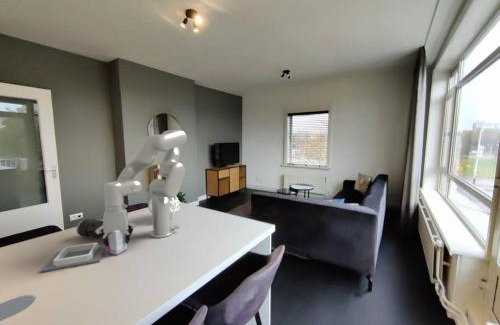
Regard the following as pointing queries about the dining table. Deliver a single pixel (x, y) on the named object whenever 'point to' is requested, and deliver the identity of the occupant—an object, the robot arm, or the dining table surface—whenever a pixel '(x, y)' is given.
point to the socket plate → (75, 257)
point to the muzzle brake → (91, 228)
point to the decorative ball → (174, 200)
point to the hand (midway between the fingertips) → (117, 243)
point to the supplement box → (116, 242)
